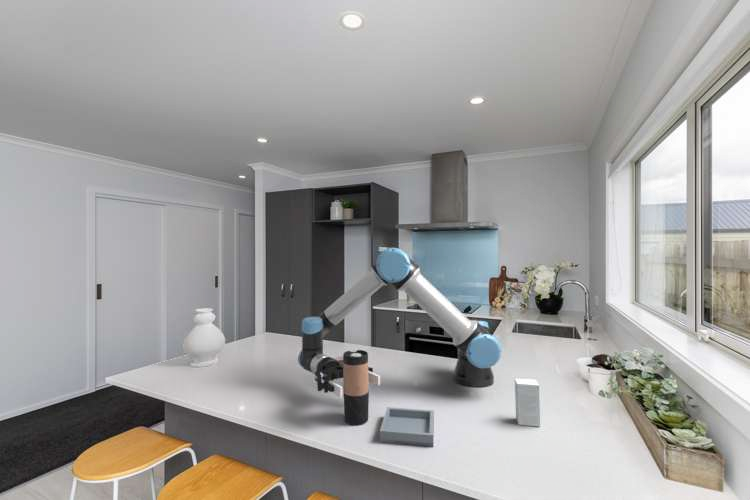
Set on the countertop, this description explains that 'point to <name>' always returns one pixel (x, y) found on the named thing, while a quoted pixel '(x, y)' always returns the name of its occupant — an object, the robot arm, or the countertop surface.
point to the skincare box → (527, 402)
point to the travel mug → (355, 387)
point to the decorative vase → (204, 340)
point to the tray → (408, 427)
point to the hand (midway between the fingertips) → (361, 386)
